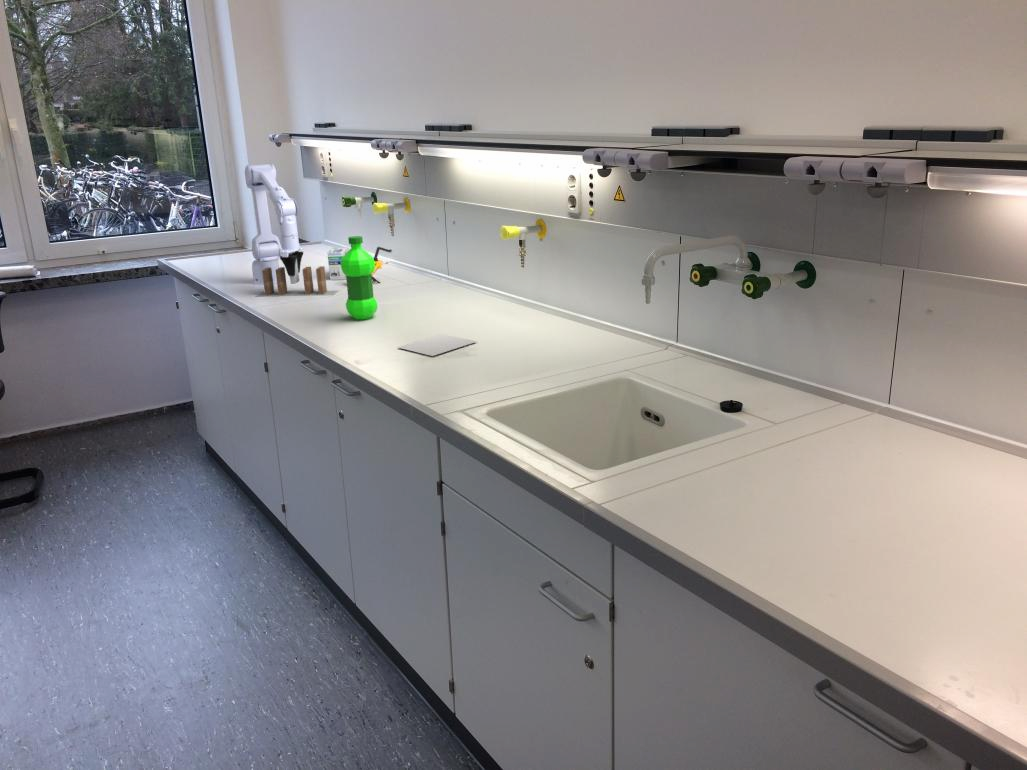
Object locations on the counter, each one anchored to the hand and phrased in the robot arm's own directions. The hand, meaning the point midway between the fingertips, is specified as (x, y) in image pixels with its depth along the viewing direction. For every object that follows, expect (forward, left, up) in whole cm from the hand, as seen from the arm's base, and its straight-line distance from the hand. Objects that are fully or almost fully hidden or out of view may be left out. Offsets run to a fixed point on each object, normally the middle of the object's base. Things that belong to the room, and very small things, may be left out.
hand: (294, 274), depth 296 cm
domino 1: (-10, 0, -7) cm, 12 cm away
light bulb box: (+8, +30, -8) cm, 32 cm away
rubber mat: (0, 0, -7) cm, 7 cm away
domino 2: (-5, 0, -7) cm, 8 cm away
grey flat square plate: (+62, -74, -8) cm, 97 cm away
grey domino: (0, 0, -3) cm, 3 cm away
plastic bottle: (+32, -35, -8) cm, 48 cm away
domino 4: (+10, 0, -7) cm, 12 cm away
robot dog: (+23, +16, -8) cm, 29 cm away
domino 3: (+5, 0, -7) cm, 8 cm away
